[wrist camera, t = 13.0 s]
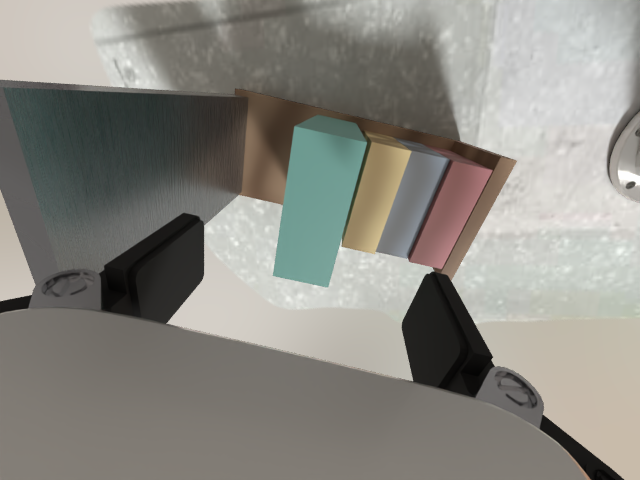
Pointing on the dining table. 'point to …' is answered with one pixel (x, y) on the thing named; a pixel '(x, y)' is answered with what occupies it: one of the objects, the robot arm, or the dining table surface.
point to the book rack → (386, 183)
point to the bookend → (112, 166)
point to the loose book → (317, 197)
